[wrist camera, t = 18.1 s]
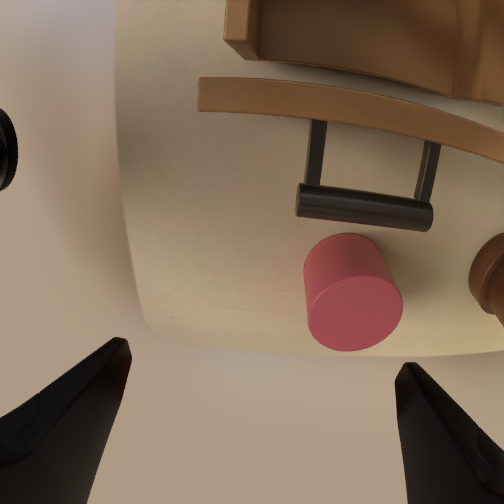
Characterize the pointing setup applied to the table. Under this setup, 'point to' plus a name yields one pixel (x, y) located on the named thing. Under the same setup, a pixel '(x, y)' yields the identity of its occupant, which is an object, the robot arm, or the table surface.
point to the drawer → (363, 103)
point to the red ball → (350, 294)
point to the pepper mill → (489, 277)
